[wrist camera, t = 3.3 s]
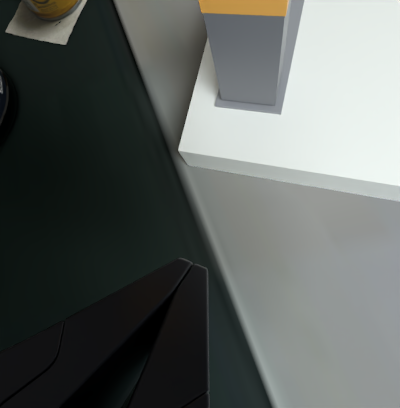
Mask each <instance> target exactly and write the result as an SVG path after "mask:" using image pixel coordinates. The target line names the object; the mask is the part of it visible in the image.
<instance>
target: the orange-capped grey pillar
mask: <svg viewBox="0 0 400 408" xmlns="http://www.w3.org/2000/svg"><path fill="white" fill-rule="evenodd" d="M199 4H200V8H201V13H203V16H204V21H205V25H206V30H207V35H208V39H209V44H210V48H211V53H212V58H213V62H214V67H215V71H216V76H217V80H218V85H219V90H220V94H221V99H222V100H229V101H238V102H247V103H256V104H265V105H274V106H275V104H276V99H277V94H278V90H279V85H280V80H281V75H282V70H283V62H284V54H285V46H286V38H287V30H288V22H289V14H290V6H291V0H199Z"/></svg>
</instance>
